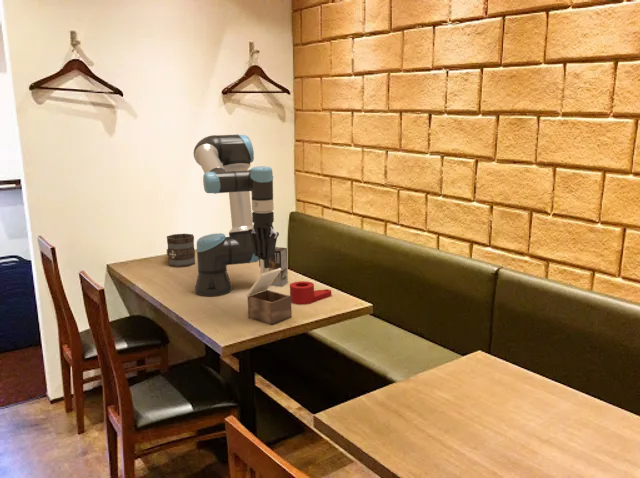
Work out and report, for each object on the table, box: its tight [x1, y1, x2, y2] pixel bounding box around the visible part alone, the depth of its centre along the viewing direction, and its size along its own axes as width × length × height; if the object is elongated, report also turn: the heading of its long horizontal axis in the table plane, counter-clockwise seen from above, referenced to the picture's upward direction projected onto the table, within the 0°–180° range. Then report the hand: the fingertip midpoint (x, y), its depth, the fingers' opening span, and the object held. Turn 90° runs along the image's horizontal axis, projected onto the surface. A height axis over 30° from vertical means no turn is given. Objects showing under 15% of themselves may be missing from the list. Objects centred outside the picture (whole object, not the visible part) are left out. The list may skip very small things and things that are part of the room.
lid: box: [246, 268, 282, 298], centre depth 204 cm, size 12×10×1 cm
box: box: [247, 289, 293, 326], centre depth 204 cm, size 12×10×8 cm
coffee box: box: [268, 246, 289, 288], centre depth 243 cm, size 9×6×16 cm
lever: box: [289, 280, 332, 306], centre depth 225 cm, size 18×9×7 cm, turn 121°
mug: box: [166, 233, 196, 269], centre depth 276 cm, size 20×14×15 cm
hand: (264, 276), depth 203 cm, fingers closed
